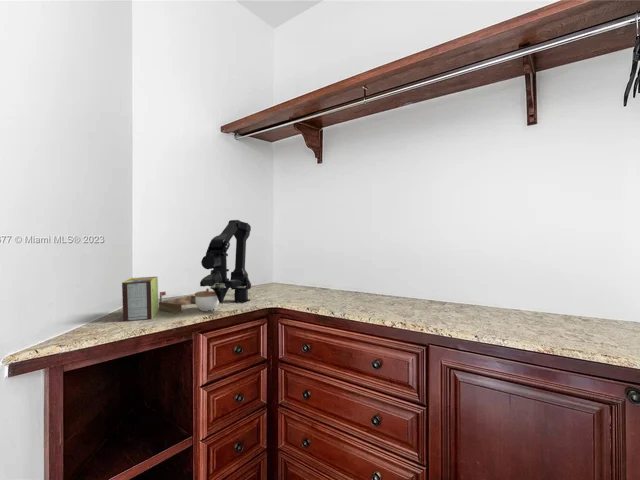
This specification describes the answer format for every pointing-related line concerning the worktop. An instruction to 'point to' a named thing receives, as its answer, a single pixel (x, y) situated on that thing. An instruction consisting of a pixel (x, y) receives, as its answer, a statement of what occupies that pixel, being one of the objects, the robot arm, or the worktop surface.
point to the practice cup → (175, 303)
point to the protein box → (140, 298)
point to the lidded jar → (206, 300)
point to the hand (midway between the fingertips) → (220, 303)
